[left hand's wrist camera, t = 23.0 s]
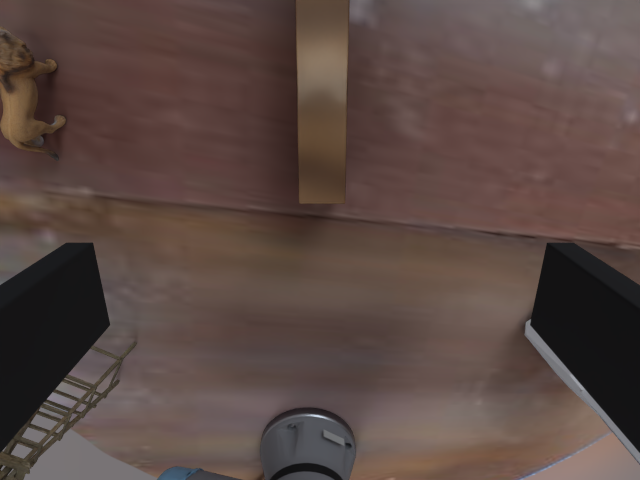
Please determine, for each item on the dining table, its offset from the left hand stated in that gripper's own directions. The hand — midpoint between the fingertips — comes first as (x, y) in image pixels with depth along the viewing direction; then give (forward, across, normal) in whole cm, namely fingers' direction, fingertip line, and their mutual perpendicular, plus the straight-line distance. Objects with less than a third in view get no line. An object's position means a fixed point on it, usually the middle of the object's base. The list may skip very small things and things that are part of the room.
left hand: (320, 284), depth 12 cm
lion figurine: (+41, +33, -4) cm, 52 cm away
